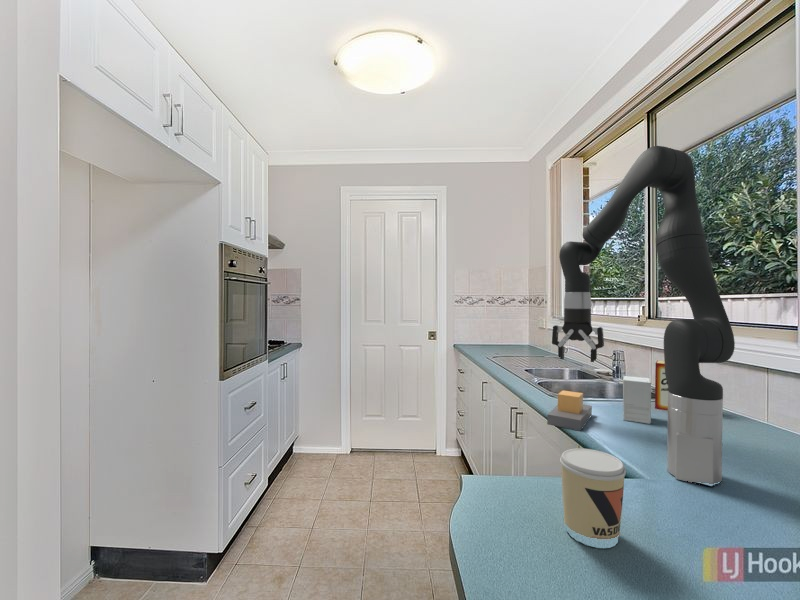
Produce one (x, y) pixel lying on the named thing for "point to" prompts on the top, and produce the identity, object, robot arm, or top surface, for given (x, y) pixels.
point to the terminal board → (569, 418)
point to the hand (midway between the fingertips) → (577, 360)
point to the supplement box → (637, 399)
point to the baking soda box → (661, 387)
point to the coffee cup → (592, 492)
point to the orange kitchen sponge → (570, 402)
